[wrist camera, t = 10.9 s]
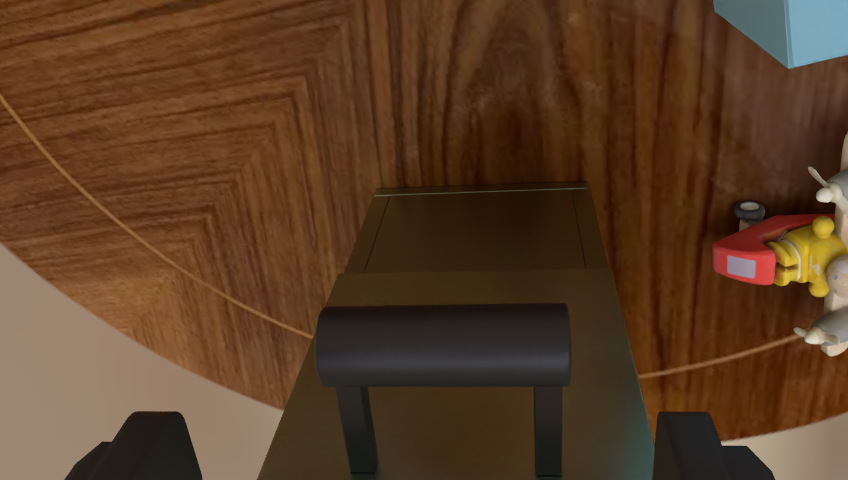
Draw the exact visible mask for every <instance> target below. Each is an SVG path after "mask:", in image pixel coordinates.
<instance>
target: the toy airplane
mask: <svg viewBox="0 0 848 480" xmlns="http://www.w3.org/2000/svg"><path fill="white" fill-rule="evenodd" d="M808 171H809V172H810V174H811V175H812V176H813V177H814V178H815V179H816V180H817V181H818V182H820V183H821V184H822V185H823V186H824V188H822V189H820V190H819V191H818V192H817V193H816V198H817V200H818V201H820V202H825V203H828V202H830V201H831V202H834V203H835V204H836V210H835V214H802V215H776V216H773V217H771V218H768V219H766V220H763V217H764V215H765V207H764V206H763V205H762V204H760V203H758V202H755V201H743V202H739V203H737V204H736V205H735V206H734V214H735V215H736V216H737V217H738V218H741V220H740V227H739V232H736V233H734V234H732V235H729V236H727V237H725V238H723V239H721V240H718V241H716V242H714V243H712V269H713V270H715V271H716V272H717V273H719V274H722V275H724V276H726V277H729V278H733V279H736V280H739V281H743V282H748V283H753V284H759V285H771V284H773V282H774V283H775V284H777V285H779V286H785V285H787V284H788V283H789V282H790V281H797V282H799V283H805V282H807V281H809V282H810V283H809V291H810V293H811V294H812V295H814V296H816V297H823V296H825V298H824V313H823V316H822V317H821V318H819V319H818V320H816V321H815V322H814V323H813V324H812V326H811V329H810V330H803V329H801V328H798V327H797V328H794V331H795V333H796V334H798V335H800V336H802V337H805V338H804V339H805V341H806V342H807V343H810V344H820V345H821V350H822V351H823V352H825V353H826V354H827V355H829V356H835V355H838V354H840V353H842V352H843V351H844V350H845V349H847V348H848V132H847V134H846V136H845V139H844V144H843V149H842V158H841V168H840V172H839V173H838V174H836V175H834V176H833V177H831V178H830V179H829V180H828V181H826V182H825V181H824V180H823V179H822V178H821V177H820V175H819V174H818V173H817V171H816V170H815V169H814V168H813V167H811V166H810V167H808Z"/></svg>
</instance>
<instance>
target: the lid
mask: <svg viewBox="0 0 848 480" xmlns="http://www.w3.org/2000/svg"><path fill="white" fill-rule="evenodd" d="M654 452H655V445H654V440H653V436H652V432H651V428H650V424H649V420H648V416H647V412H646V408H645V404H644V399H643V395H642V391H641V387H640V383H639V379H638V375H637V371H636V367H635V363H634V358H633V354H632V350H631V346H630V342H629V338H628V334H627V330H626V326H625V322H624V317H623V313H622V309H621V305H620V301H619V297H618V293H617V289H616V285H615V281H614V277H613V272H612V269H611V268H596V269H548V270H501V271H453V272H405V273H357V274H338V276H337V278H336V281H335V283H334V286H333V288H332V291H331V293H330V296H329V298H328V301H327V304H326V306H325V308H323V309H322V311H321V313H320V315H319V318H318V322H317V327H316V331H315V334H314V336H313V339H312V341H311V344H310V347H309V349H308V352H307V354H306V357H305V359H304V362H303V364H302V367H301V369H300V372H299V374H298V377H297V379H296V382H295V384H294V387H293V390H292V392H291V395H290V397H289V400H288V402H287V405H286V407H285V410H284V412H283V415H282V417H281V420H280V423H279V425H278V428H277V430H276V433H275V435H274V438H273V440H272V443H271V445H270V448H269V450H268V453H267V455H266V458H265V461H264V463H263V466H262V468H261V471H260V473H259V476H258V478H257V480H652V475H653V463H654Z"/></svg>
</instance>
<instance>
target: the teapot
mask: <svg viewBox="0 0 848 480" xmlns="http://www.w3.org/2000/svg"><path fill="white" fill-rule="evenodd" d="M713 4H714V11H715V12H716V13H718V14H719V15H720V16H721V17H723V18H724V19H725V20H727V21H728V22H729V23H730V24H732V25H733V26H734V27H736V28H737V29H738V30H739V31H741V32H742V33H743V34H745V35H746V36H747V37H748V38H750V39H751V40H752V41H754V42H755V43H756V44H757V45H759V46H760V47H761V48H762V49H764V50H765V51H766V52H768V53H769V54H770V55H771V56H773V57H774V58H775V59H777V60H778V61H779V62H780V63H782V64H783V65H784V66H786V67H787V68H788V69H790V68H794V67H798V66H802V65H807V64H811V63H815V62H819V61H824V60H828V59H832V58H837V57H841V56H845V55H848V0H713Z"/></svg>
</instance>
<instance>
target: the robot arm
mask: <svg viewBox="0 0 848 480" xmlns="http://www.w3.org/2000/svg"><path fill="white" fill-rule="evenodd" d="M65 480H202V474H201V471H200V468H199V464H198V461H197V458H196V455H195V452H194V448H193V445H192V442H191V438H190V435H189V432H188V429H187V425H186V422H185V420H184V417H183V416H182V415H181V413H179V412H153V411H152V412H151V411H150V412H148V411H137V412H134V413H132V414H131V415H130V416H129V417H128V418H127V420H126V421H125V423H124V424H123V426H122V427H121V429H120V430H119V432H118V433H117V435H116V436H115V438H114V439H113V441H112V442H101V443H100V444H99V445H98V446H97V447H95V448H94V449H93V450H92V451H91V452H89V453H88V454H87V455H86V456H85V457H83V458H82V459H81V460H80V461H78V462H77V463H76V464H75V465H74V467H73V468H72V470H71V471H70V472H69V474H68V475H67V477H66V478H65ZM652 480H775V478H774V476H773V473H772V471H771V470H770V469H769V468H768V467H767V466H766V465H765V464H764V463H763V462H762V461H761V460H760V459H759V458H758V457H757V456H756V455H755V454H754V453H753V452H752V451H751V450H750V449H749V448H748V447H747V446H722V445H721V442H720V439H719V437H718V434H717V431H716V428H715V425H714V423H713V420H712V418H711V416H710V414H709V413H708V412H659V414H658V418H657V428H656V440H655V452H654V463H653V475H652Z"/></svg>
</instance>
